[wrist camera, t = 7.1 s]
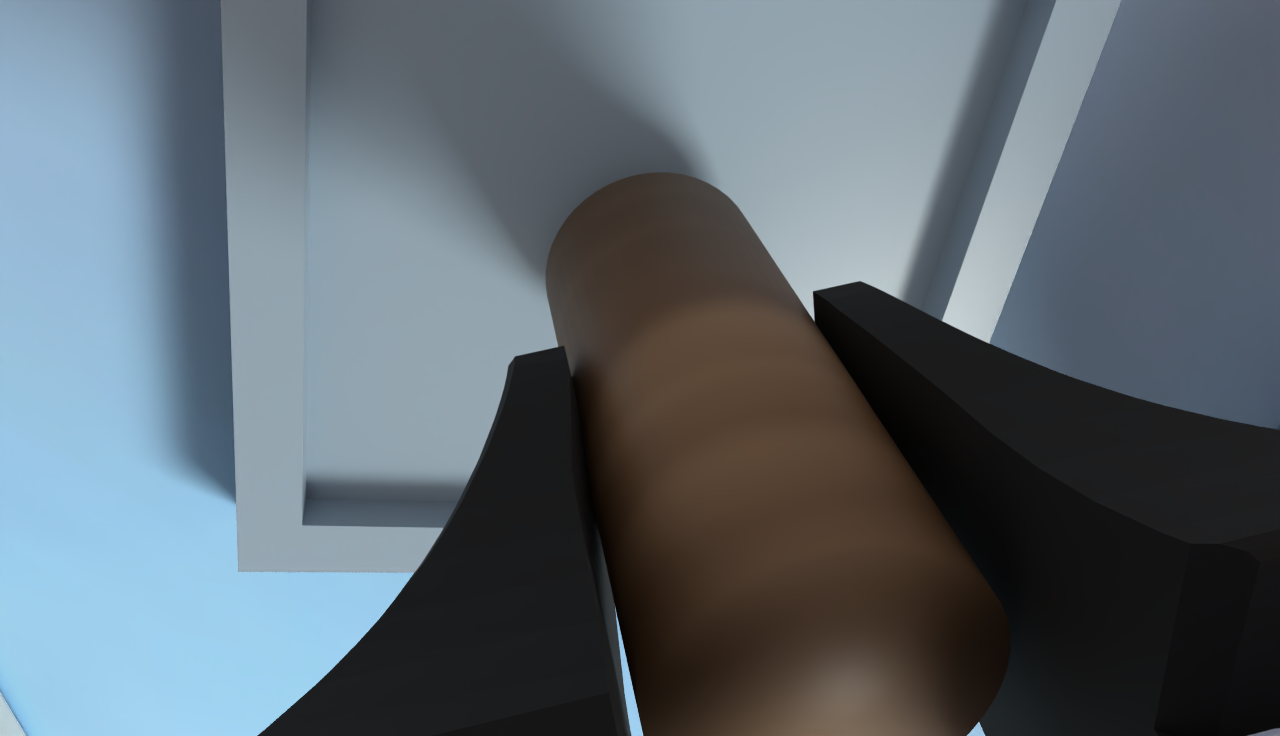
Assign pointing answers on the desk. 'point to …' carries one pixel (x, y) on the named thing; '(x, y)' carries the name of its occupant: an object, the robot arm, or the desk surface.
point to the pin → (754, 491)
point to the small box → (8, 721)
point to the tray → (559, 182)
